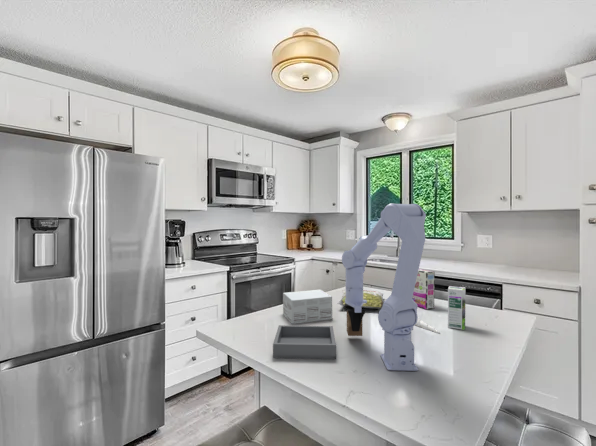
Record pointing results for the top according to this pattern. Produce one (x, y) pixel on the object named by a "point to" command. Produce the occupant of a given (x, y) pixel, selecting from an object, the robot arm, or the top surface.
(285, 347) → the charcoal bin
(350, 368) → the top surface
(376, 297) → the frozen beans
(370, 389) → the top surface
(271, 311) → the top surface
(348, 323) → the walnut block
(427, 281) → the candy bar box
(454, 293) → the syrup box
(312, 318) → the supplement box
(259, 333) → the top surface
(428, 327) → the unicorn horn
